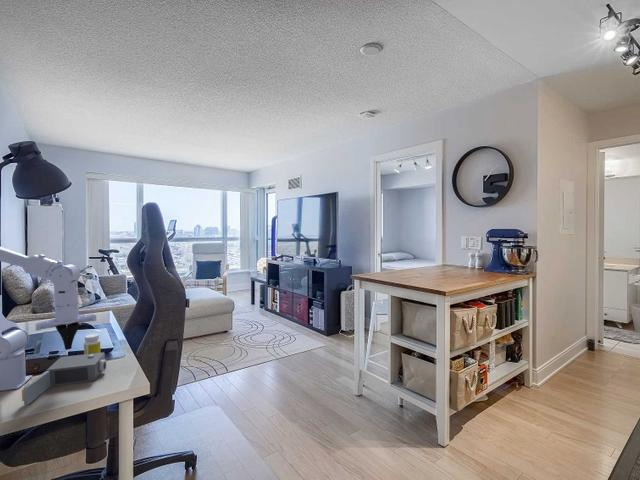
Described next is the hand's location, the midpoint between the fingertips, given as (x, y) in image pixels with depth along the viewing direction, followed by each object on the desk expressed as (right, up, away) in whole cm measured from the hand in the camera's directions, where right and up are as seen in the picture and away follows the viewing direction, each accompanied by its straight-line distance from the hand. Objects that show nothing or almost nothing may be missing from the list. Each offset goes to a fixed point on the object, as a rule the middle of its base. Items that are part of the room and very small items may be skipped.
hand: (68, 348), depth 101 cm
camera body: (+2, -9, +2) cm, 10 cm away
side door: (-1, -10, -10) cm, 14 cm away
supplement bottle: (-3, -9, +15) cm, 18 cm away
